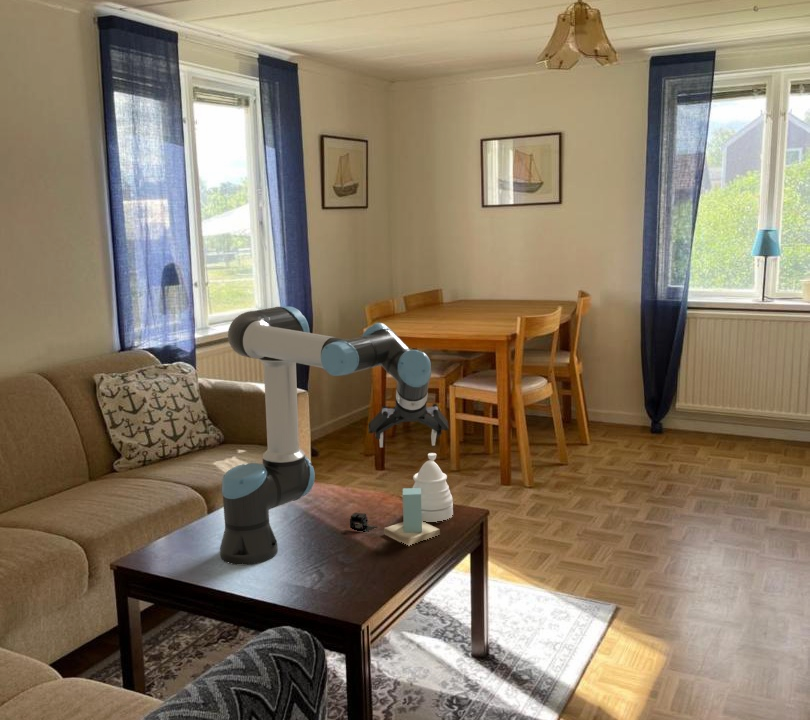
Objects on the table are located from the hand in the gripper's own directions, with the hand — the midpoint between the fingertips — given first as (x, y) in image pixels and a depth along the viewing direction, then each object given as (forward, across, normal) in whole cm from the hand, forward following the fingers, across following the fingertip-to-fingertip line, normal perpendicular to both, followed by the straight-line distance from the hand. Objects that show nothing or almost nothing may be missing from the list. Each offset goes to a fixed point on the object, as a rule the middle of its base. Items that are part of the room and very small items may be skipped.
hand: (407, 442), depth 220 cm
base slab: (+28, +2, -14) cm, 32 cm away
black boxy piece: (+34, -13, -9) cm, 37 cm away
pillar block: (+26, +2, -13) cm, 29 cm away
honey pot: (+38, +9, -4) cm, 39 cm away
